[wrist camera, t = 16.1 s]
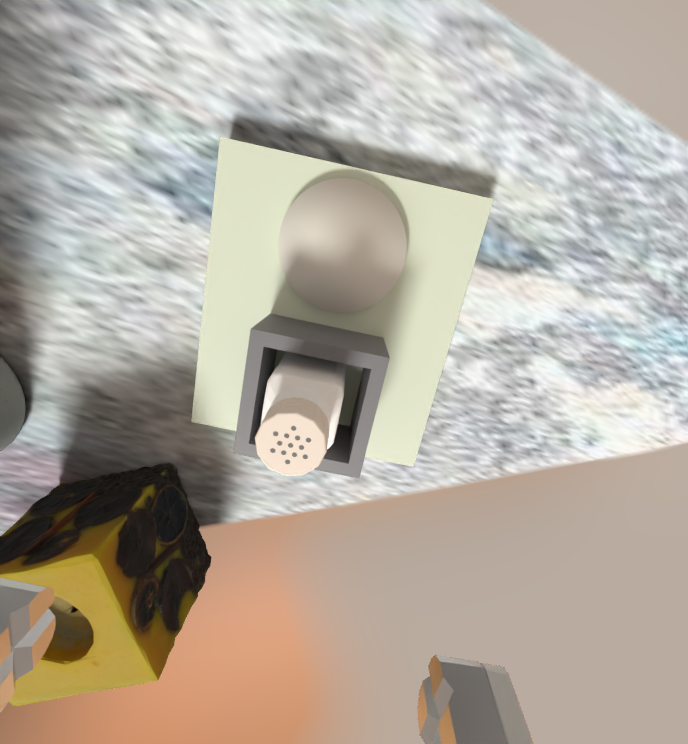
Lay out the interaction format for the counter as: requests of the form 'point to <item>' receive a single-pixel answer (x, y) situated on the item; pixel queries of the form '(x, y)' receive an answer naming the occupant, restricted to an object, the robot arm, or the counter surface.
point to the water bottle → (10, 405)
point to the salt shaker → (300, 413)
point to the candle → (108, 578)
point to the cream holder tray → (332, 294)
